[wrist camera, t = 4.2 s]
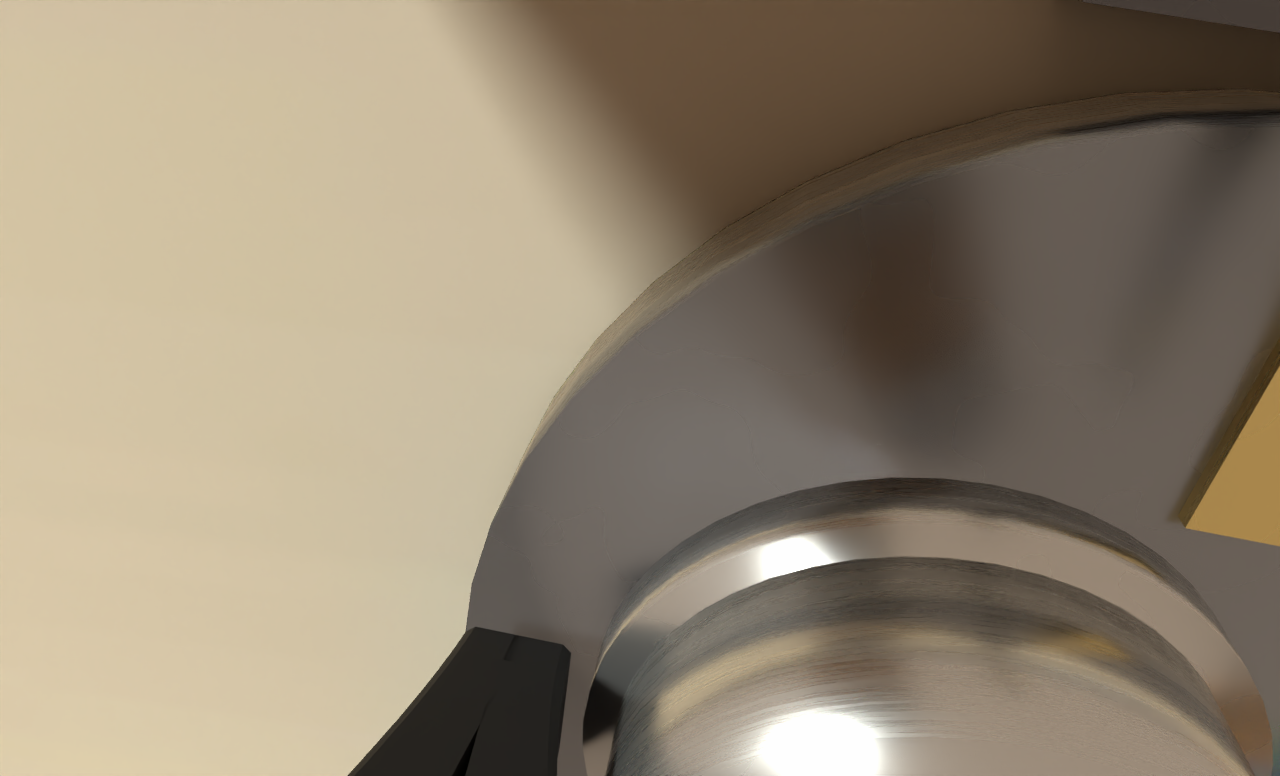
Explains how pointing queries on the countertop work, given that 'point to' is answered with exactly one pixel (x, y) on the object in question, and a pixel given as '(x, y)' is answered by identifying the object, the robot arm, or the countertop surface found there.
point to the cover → (919, 647)
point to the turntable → (941, 364)
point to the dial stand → (1210, 10)
